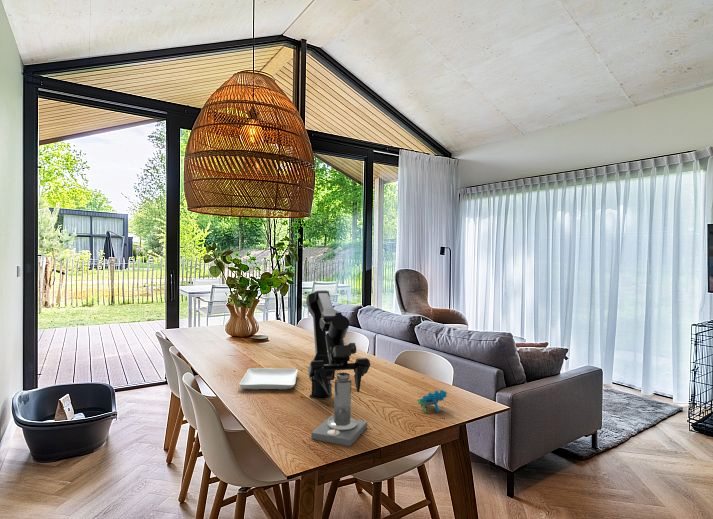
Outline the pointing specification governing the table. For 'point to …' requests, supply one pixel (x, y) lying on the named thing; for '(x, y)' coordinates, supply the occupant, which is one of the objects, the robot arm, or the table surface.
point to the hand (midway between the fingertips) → (343, 392)
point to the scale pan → (342, 428)
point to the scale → (338, 433)
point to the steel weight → (342, 399)
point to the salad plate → (269, 378)
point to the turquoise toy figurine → (432, 399)
